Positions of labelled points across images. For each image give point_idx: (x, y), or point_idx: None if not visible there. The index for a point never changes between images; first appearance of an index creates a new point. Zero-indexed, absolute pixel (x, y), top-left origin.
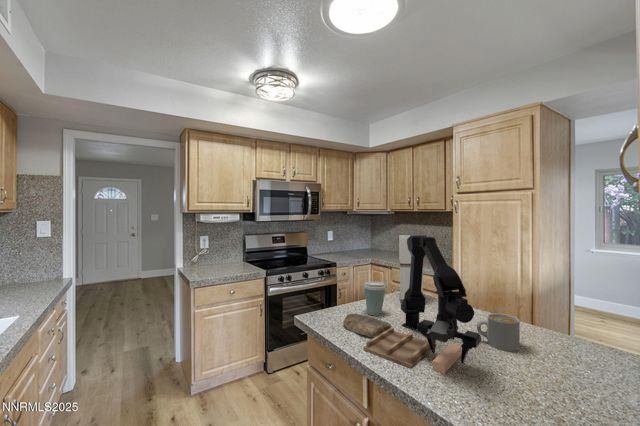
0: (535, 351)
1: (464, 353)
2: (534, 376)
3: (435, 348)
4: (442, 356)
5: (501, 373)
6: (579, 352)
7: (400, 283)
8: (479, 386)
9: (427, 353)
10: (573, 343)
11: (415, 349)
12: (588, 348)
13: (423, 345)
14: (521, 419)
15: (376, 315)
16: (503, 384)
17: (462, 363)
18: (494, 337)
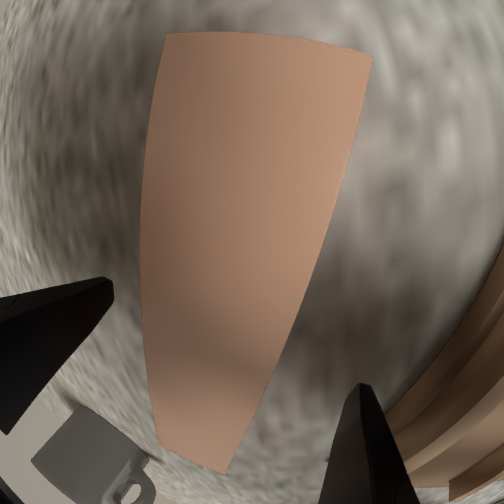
0: (62, 400)
1: (7, 302)
2: (3, 278)
3: (333, 441)
4: (234, 301)
5: (27, 264)
6: None
7: None
8: (42, 77)
9: (408, 393)
10: (56, 414)
11: None
12: (41, 397)
13: (443, 448)
14: (6, 9)
15: (498, 502)
16: (6, 173)
17: (102, 276)
18: (97, 454)
